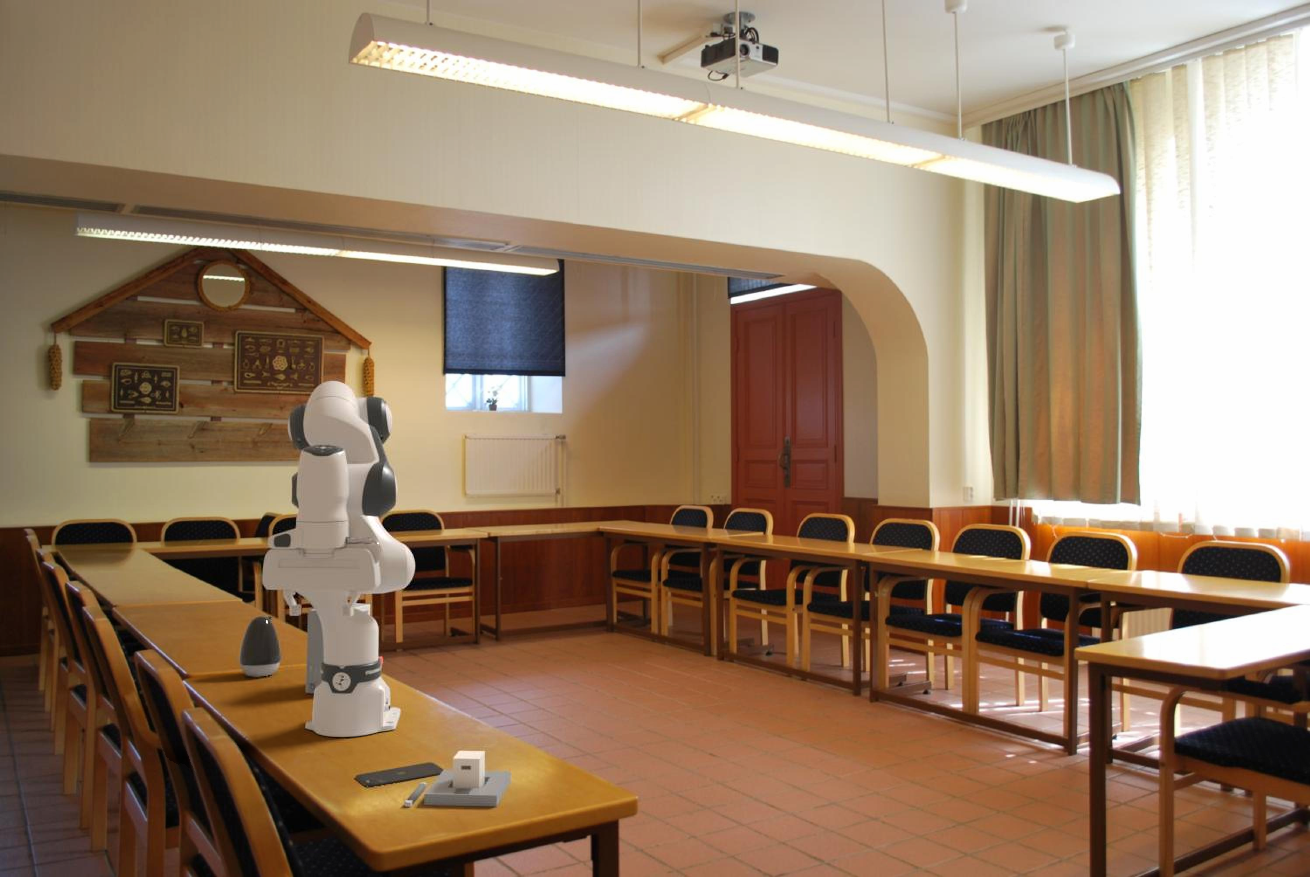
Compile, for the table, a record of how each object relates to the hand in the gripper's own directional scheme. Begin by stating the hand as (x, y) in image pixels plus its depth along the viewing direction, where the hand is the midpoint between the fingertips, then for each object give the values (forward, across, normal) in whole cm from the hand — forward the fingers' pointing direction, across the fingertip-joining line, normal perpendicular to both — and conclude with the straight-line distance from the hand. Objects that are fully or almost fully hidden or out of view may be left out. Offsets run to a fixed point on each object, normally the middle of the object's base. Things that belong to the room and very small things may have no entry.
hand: (321, 615), depth 184 cm
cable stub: (+29, -19, +7) cm, 36 cm away
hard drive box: (+29, +21, -70) cm, 79 cm away
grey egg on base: (+29, +46, -83) cm, 99 cm away
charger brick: (+29, -27, +4) cm, 40 cm away
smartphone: (+30, -13, -4) cm, 33 cm away
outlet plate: (+29, -27, +4) cm, 40 cm away
